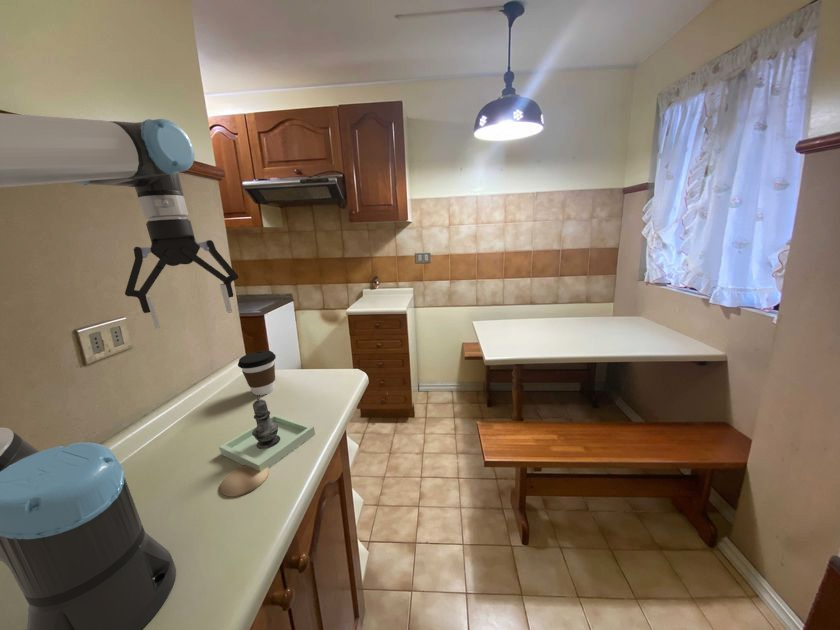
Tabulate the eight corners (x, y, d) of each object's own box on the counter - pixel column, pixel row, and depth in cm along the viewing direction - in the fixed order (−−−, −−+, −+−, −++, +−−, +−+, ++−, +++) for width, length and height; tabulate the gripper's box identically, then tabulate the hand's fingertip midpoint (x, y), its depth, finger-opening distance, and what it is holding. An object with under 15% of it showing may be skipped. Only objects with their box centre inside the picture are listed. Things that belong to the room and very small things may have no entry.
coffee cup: (251, 386, 114) (243, 352, 111) (285, 380, 116) (278, 347, 113) (241, 402, 104) (231, 365, 100) (278, 396, 105) (270, 360, 102)
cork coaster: (237, 502, 64) (237, 500, 64) (211, 487, 69) (211, 485, 69) (278, 471, 72) (277, 469, 71) (252, 459, 76) (251, 458, 76)
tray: (260, 473, 72) (258, 465, 71) (221, 454, 79) (219, 446, 79) (315, 434, 84) (313, 426, 83) (276, 420, 91) (274, 413, 91)
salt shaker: (272, 450, 78) (261, 403, 75) (249, 449, 79) (237, 403, 76) (286, 435, 83) (276, 390, 80) (265, 434, 85) (254, 390, 81)
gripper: (82, 222, 59) (121, 337, 65) (238, 214, 74) (259, 308, 80) (87, 225, 65) (123, 330, 70) (231, 216, 80) (251, 304, 85)
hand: (195, 319), depth 75 cm, fingers open, 13 cm apart
